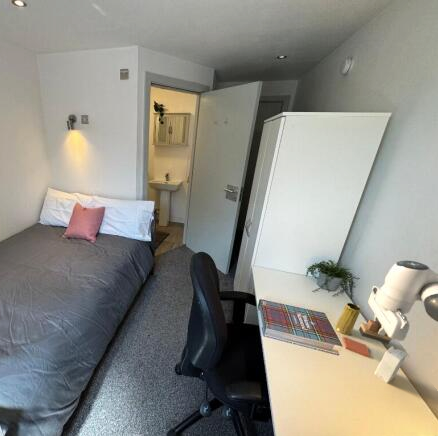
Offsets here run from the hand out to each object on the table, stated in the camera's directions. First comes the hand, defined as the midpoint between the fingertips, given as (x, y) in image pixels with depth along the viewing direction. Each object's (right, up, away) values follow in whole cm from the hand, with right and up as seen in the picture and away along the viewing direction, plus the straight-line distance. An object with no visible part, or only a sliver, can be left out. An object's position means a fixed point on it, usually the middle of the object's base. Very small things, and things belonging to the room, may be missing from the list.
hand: (378, 330), depth 88 cm
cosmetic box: (+4, -19, +2) cm, 19 cm away
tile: (+3, -14, +13) cm, 20 cm away
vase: (+5, -11, +22) cm, 25 cm away
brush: (0, -3, +2) cm, 4 cm away
